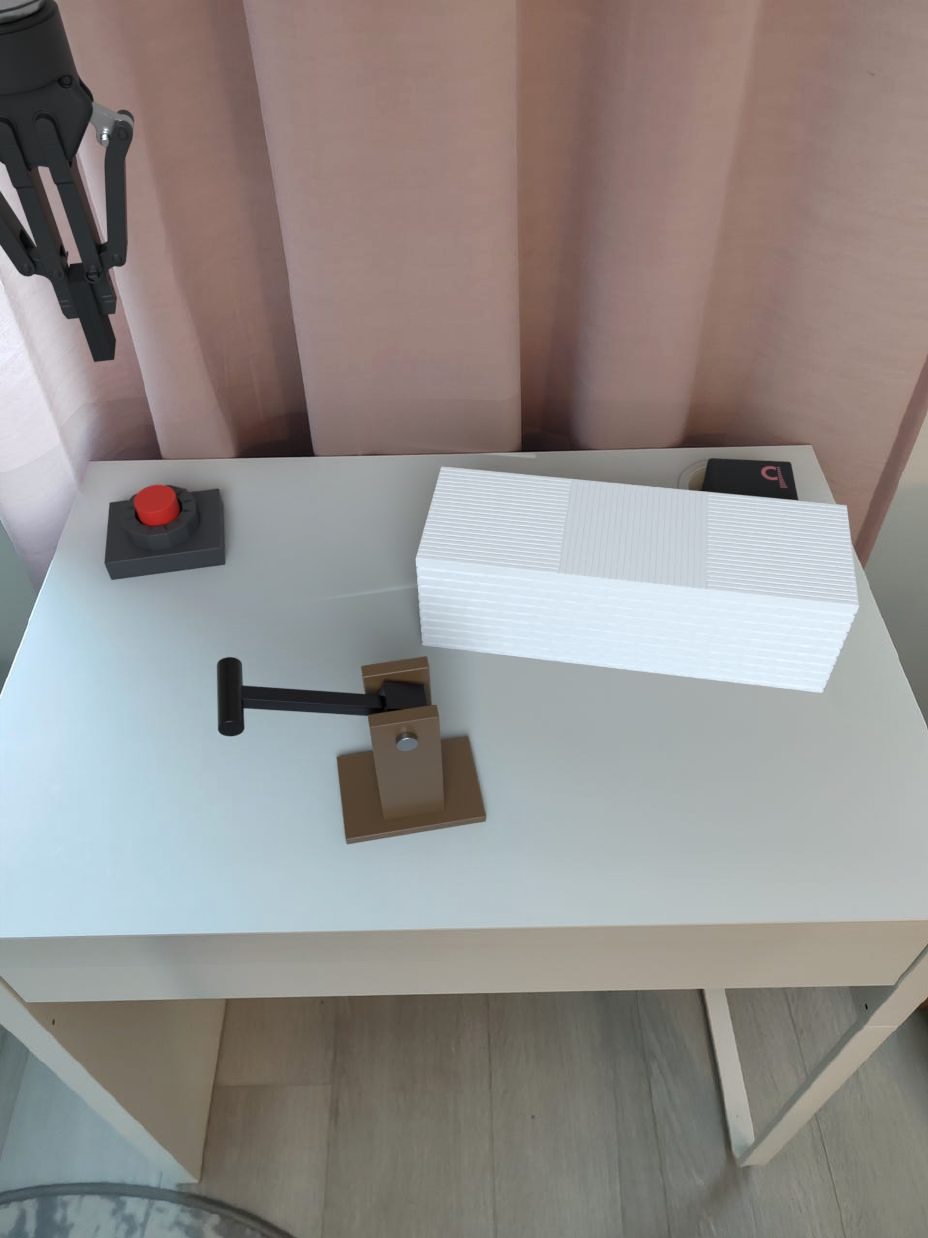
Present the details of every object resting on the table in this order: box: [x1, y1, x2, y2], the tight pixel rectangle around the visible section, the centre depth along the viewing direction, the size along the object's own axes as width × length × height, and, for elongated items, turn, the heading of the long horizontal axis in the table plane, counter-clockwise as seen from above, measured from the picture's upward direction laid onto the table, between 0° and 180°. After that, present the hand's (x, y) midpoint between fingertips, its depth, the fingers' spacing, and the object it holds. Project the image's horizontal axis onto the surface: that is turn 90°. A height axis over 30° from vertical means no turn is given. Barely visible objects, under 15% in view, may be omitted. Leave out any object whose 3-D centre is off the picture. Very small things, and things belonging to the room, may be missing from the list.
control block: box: [104, 484, 226, 581], centre depth 90 cm, size 10×8×4 cm
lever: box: [216, 656, 428, 737], centre depth 63 cm, size 13×5×2 cm, turn 100°
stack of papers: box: [415, 465, 860, 694], centre depth 80 cm, size 32×11×11 cm, turn 81°
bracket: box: [336, 655, 487, 845], centre depth 69 cm, size 10×7×13 cm
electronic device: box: [700, 457, 799, 501], centre depth 88 cm, size 7×11×5 cm
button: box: [134, 484, 180, 526], centre depth 88 cm, size 4×4×2 cm
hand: (105, 350), depth 76 cm, fingers closed
